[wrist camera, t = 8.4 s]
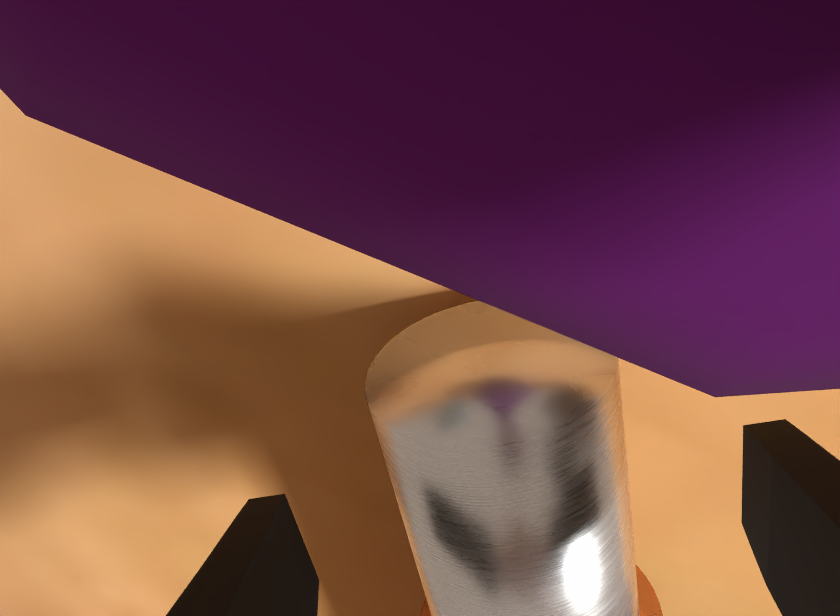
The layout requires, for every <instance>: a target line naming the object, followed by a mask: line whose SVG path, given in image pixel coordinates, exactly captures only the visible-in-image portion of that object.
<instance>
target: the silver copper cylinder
mask: <svg viewBox="0 0 840 616" xmlns="http://www.w3.org/2000/svg"><path fill="white" fill-rule="evenodd" d="M365 394H366V398H367V402H368V406H369V409H370V412H371V416H372V419H373V422H374V426H375V429H376V432H377V436H378V439H379V442H380V446H381V449H382V452H383V456H384V459H385V462H386V466H387V469H388V473H389V476H390V479H391V483H392V486H393V489H394V493H395V496H396V499H397V503H398V506H399V509H400V513H401V516H402V519H403V523H404V526H405V529H406V533H407V536H408V539H409V543H410V546H411V549H412V553H413V556H414V559H415V563H416V566H417V569H418V573H419V576H420V579H421V583H422V586H423V589H424V593H425V596H426V599H425V602H424V604H423V607H422V611H421V616H663V615H662V611H661V607H660V603H659V601H658V598H657V596H656V594H655V591H654V589H653V587H652V586H651V584H650V582H649V581H648V579H647V577H646V576H645V575H644V574H643V572H642V571H641V570H640V569H639V567H638V566H637V565H636V564H635V554H634V542H633V530H632V518H631V506H630V495H629V483H628V471H627V459H626V447H625V435H624V423H623V411H622V399H621V387H620V375H619V363H618V357H616V356H613V355H611V354H608V353H606V352H603V351H601V350H599V349H596V348H594V347H591V346H589V345H586V344H584V343H581V342H579V341H577V340H574V339H572V338H569V337H567V336H564V335H562V334H559V333H557V332H555V331H552V330H550V329H547V328H545V327H542V326H540V325H537V324H535V323H532V322H530V321H528V320H525V319H523V318H520V317H518V316H515V315H513V314H510V313H508V312H506V311H503V310H501V309H498V308H496V307H493V306H491V305H488V304H486V303H484V302H481V301H474V302H470V303H465V304H461V305H458V306H454V307H451V308H448V309H445V310H442V311H439V312H437V313H434V314H432V315H430V316H427V317H425V318H423V319H421V320H419V321H417V322H416V323H414V324H412V325H410V326H409V327H407V328H406V329H404V330H403V331H401V332H400V333H399V334H397V335H396V336H395V337H393V338H392V339H391V340H390V341H389V342H388V343H387V344H386V345H385V346H384V347H383V348H382V349H381V350H380V352H379V353H378V354H377V355H376V357H375V358H374V360H373V362H372V363H371V365H370V368H369V370H368V372H367V376H366V381H365Z"/></svg>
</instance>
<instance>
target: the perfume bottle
mask: <svg viewBox="0 0 840 616" xmlns="http://www.w3.org/2000/svg"><path fill="white" fill-rule="evenodd" d="M0 89H1V90H2V91H3V92H4V93H5V94H6V95H7V96H8V97H9V98H10V99H11V100H12V101H13V103H14V104H15V105H16V106H17V107H18V108H19V109H20V110H21V111H22V112H23V113H24V114H25V115H26V116H28V117H31V118H33V119H36V120H38V121H40V122H43V123H45V124H48V125H50V126H53V127H55V128H58V129H60V130H63V131H65V132H67V133H70V134H72V135H75V136H77V137H80V138H82V139H85V140H87V141H89V142H92V143H94V144H97V145H99V146H102V147H104V148H107V149H109V150H111V151H114V152H116V153H119V154H121V155H124V156H126V157H129V158H131V159H134V160H136V161H138V162H141V163H143V164H146V165H148V166H151V167H153V168H156V169H158V170H160V171H163V172H165V173H168V174H170V175H173V176H175V177H178V178H180V179H182V180H185V181H187V182H190V183H192V184H195V185H197V186H200V187H202V188H204V189H207V190H209V191H212V192H214V193H217V194H219V195H222V196H224V197H227V198H229V199H231V200H234V201H236V202H239V203H241V204H244V205H246V206H249V207H251V208H253V209H256V210H258V211H261V212H263V213H266V214H268V215H271V216H273V217H275V218H278V219H280V220H283V221H285V222H288V223H290V224H293V225H295V226H298V227H300V228H302V229H305V230H307V231H310V232H312V233H315V234H317V235H320V236H322V237H324V238H327V239H329V240H332V241H334V242H337V243H339V244H342V245H344V246H346V247H349V248H351V249H354V250H356V251H359V252H361V253H364V254H366V255H368V256H371V257H373V258H376V259H378V260H381V261H383V262H386V263H388V264H391V265H393V266H395V267H398V268H400V269H403V270H405V271H408V272H410V273H413V274H415V275H417V276H420V277H422V278H425V279H427V280H430V281H432V282H435V283H437V284H439V285H442V286H444V287H447V288H449V289H452V290H454V291H457V292H459V293H462V294H464V295H466V296H469V297H471V298H474V299H476V300H479V301H481V302H484V303H486V304H488V305H491V306H493V307H496V308H498V309H501V310H503V311H506V312H508V313H510V314H513V315H515V316H518V317H520V318H523V319H525V320H528V321H530V322H532V323H535V324H537V325H540V326H542V327H545V328H547V329H550V330H552V331H555V332H557V333H559V334H562V335H564V336H567V337H569V338H572V339H574V340H577V341H579V342H581V343H584V344H586V345H589V346H591V347H594V348H596V349H599V350H601V351H603V352H606V353H608V354H611V355H613V356H616V357H618V358H621V359H623V360H626V361H628V362H630V363H633V364H635V365H638V366H640V367H643V368H645V369H648V370H650V371H652V372H655V373H657V374H660V375H662V376H665V377H667V378H670V379H672V380H674V381H677V382H679V383H682V384H684V385H687V386H689V387H692V388H694V389H696V390H699V391H701V392H704V393H706V394H709V395H711V396H714V397H724V396H739V395H753V394H768V393H782V392H797V391H811V390H826V389H840V0H0Z"/></svg>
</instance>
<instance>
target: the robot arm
mask: <svg viewBox="0 0 840 616" xmlns="http://www.w3.org/2000/svg"><path fill="white" fill-rule="evenodd" d="M742 525H743V527H744V530H745V533H746V535H747V538H748V540H749V543H750V546H751V548H752V551H753V553H754V556H755V558H756V561H757V563H758V566H759V568H760V571H761V573H762V575H763V578H764V580H765V583H766V585H767V587H768V589H769V591H770V593H771V595H772V597H773V599H774V601H775V602H776V604H777V606H778V608H779V610H780V612H781V614H782V616H840V460H838V459H837V458H836V457H834V456H833V455H832V454H830V453H829V452H828V451H826V450H825V449H824V448H823V447H821V446H820V445H819V444H817V443H816V442H815V441H813V440H812V439H811V438H810V437H808V436H807V435H806V434H804V433H803V432H802V431H800V430H799V429H798V428H796V427H795V426H794V425H792V424H791V423H790V422H788V421H787V420H786V419H784V420H777V421H770V422H764V423H757V424H750V425H743V476H742ZM318 589H319V579H318V576H317V574H316V571H315V569H314V566H313V564H312V561H311V559H310V556H309V554H308V551H307V549H306V546H305V544H304V541H303V538H302V536H301V533H300V531H299V528H298V526H297V523H296V521H295V518H294V516H293V513H292V511H291V508H290V506H289V503H288V501H287V498H286V496H285V494H280V495H274V496H267V497H260V498H254V499H249V500H248V501H247V503H246V504H245V505H244V507H243V508H242V509H241V511H240V512H239V514H238V515H237V516H236V518H235V519H234V521H233V522H232V523H231V525H230V526H229V528H228V529H227V531H226V532H225V533H224V535H223V536H222V538H221V539H220V541H219V542H218V544H217V545H216V546H215V548H214V549H213V551H212V552H211V554H210V555H209V556H208V558H207V559H206V561H205V562H204V564H203V565H202V566H201V568H200V569H199V571H198V572H197V574H196V575H195V576H194V578H193V579H192V580H191V582H190V583H189V585H188V586H187V587H186V589H185V590H184V591H183V593H182V594H181V596H180V597H179V598H178V600H177V601H176V602H175V604H174V605H173V607H172V608H171V609H170V611H169V612H168V613H167V615H166V616H317V610H318Z"/></svg>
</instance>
